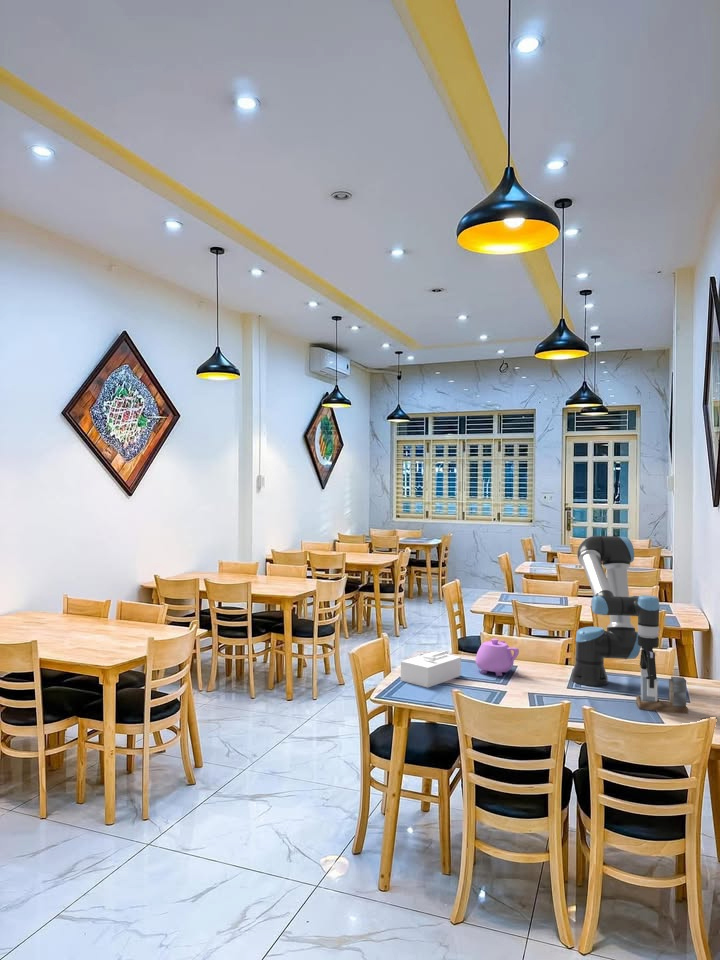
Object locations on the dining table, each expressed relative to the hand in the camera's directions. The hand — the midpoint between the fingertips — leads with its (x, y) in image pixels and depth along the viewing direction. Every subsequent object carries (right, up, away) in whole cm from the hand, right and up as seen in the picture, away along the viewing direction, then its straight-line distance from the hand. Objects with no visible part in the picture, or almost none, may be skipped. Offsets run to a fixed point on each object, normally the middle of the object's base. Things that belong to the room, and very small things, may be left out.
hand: (647, 691), depth 252 cm
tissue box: (-80, -6, +34) cm, 88 cm away
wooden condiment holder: (+5, -6, -1) cm, 8 cm away
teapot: (-48, -7, +47) cm, 67 cm away
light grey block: (0, -4, 0) cm, 4 cm away
